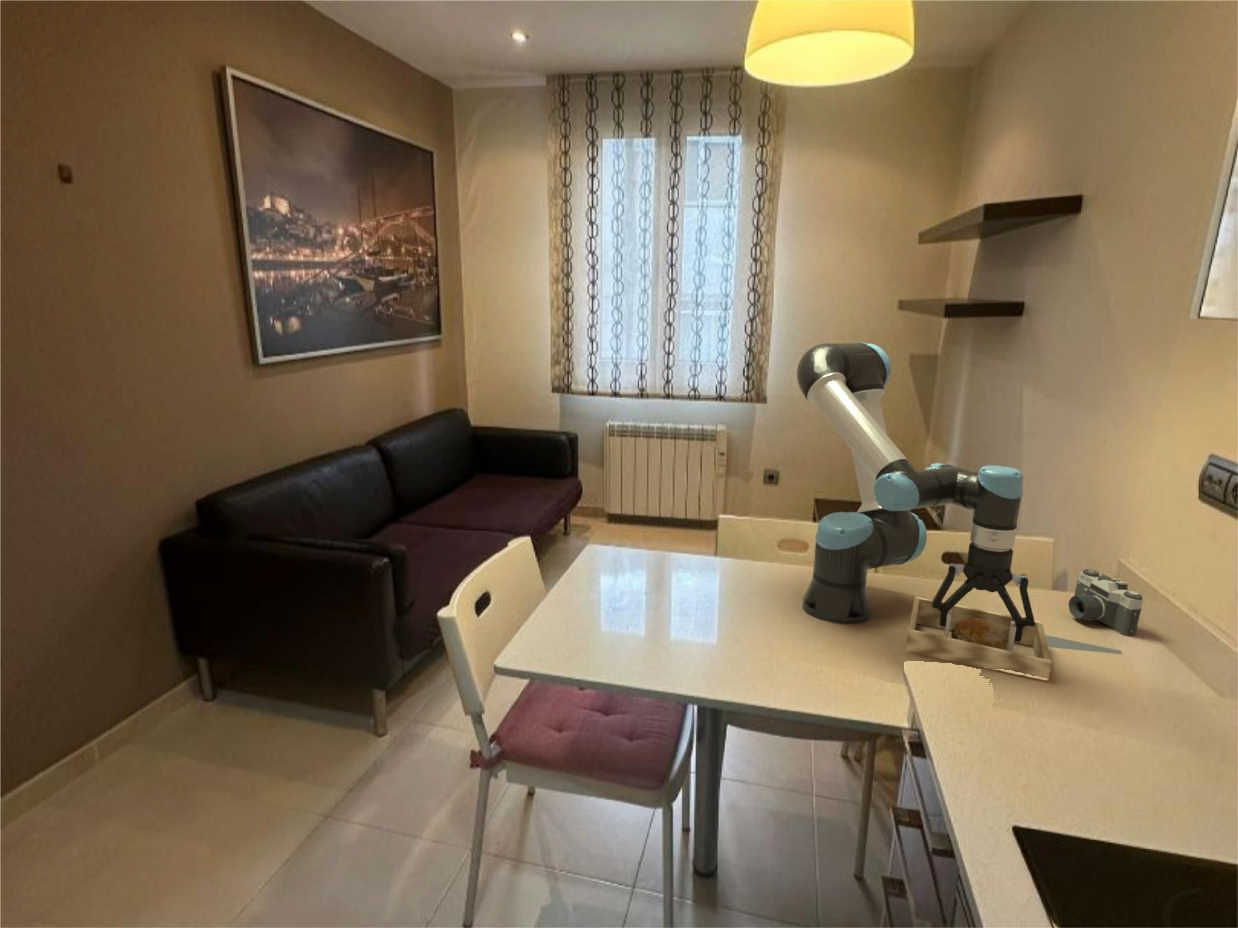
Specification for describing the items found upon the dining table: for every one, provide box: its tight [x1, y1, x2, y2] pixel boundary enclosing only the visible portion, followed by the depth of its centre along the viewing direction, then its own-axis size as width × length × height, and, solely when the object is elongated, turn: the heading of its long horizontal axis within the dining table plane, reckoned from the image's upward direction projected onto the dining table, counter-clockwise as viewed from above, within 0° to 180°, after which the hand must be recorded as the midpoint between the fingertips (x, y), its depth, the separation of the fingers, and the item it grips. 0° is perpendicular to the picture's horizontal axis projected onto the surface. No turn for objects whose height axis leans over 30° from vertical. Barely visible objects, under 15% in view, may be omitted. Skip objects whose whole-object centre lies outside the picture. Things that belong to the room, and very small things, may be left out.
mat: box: [1045, 634, 1123, 655], centre depth 129 cm, size 14×14×1 cm
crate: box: [905, 595, 1053, 680], centre depth 130 cm, size 24×18×6 cm
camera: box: [1068, 568, 1144, 636], centre depth 145 cm, size 16×10×10 cm, turn 3°
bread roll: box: [950, 618, 1008, 650], centre depth 130 cm, size 10×10×8 cm
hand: (976, 647), depth 130 cm, fingers closed on bread roll, 11 cm apart
